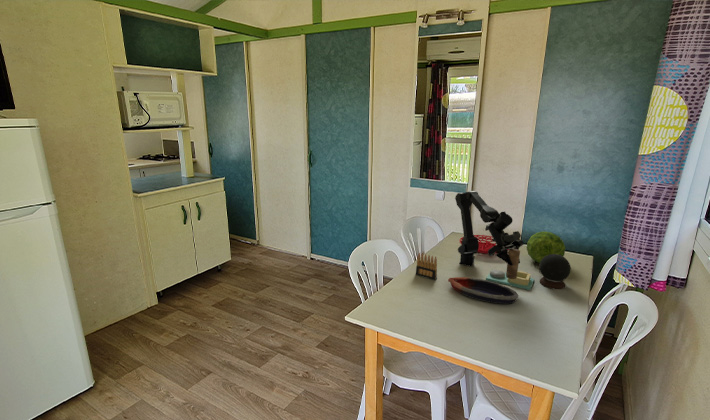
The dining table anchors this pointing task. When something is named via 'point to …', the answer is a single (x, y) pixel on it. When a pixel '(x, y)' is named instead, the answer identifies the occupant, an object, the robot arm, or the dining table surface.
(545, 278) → the black ball on stand
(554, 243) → the lettuce
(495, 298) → the dish
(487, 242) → the bowl
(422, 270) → the ammunition clip
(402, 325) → the dining table surface
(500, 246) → the robot arm
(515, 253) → the walnut dowel
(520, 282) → the carrier plate
